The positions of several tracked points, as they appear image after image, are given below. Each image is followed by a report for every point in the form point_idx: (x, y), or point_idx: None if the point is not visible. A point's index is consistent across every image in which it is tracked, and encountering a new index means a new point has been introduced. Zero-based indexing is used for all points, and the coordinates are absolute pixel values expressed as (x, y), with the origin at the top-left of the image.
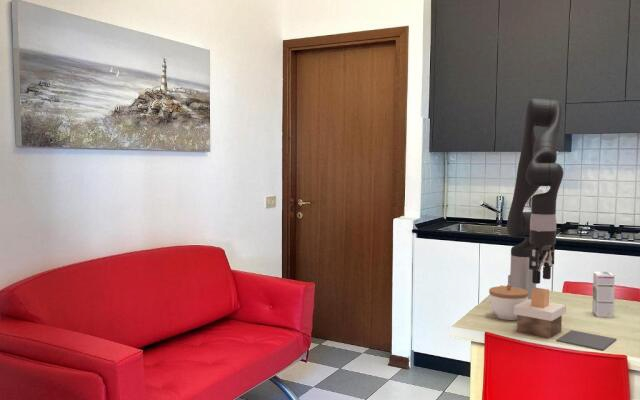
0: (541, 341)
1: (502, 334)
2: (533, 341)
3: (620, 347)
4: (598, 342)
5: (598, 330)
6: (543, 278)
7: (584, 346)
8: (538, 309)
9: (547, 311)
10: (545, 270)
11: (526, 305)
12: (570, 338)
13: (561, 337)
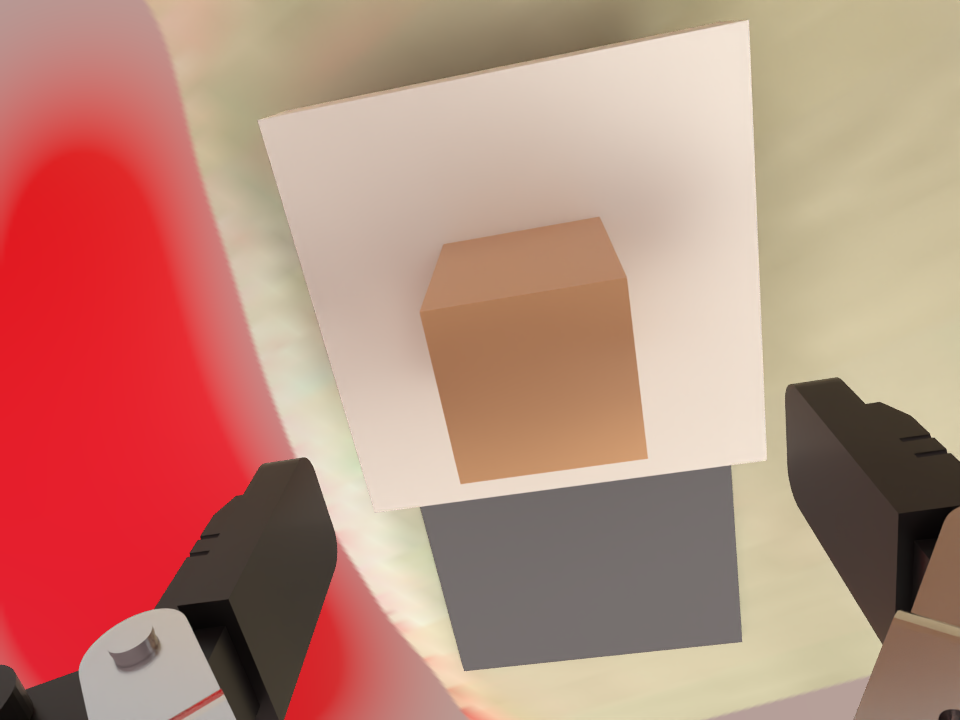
0: (311, 377)
1: (187, 84)
2: (261, 343)
3: (605, 692)
4: (571, 612)
5: None
6: (788, 388)
7: (442, 586)
8: (369, 379)
9: (379, 467)
10: (855, 519)
11: (410, 202)
12: None
13: None
